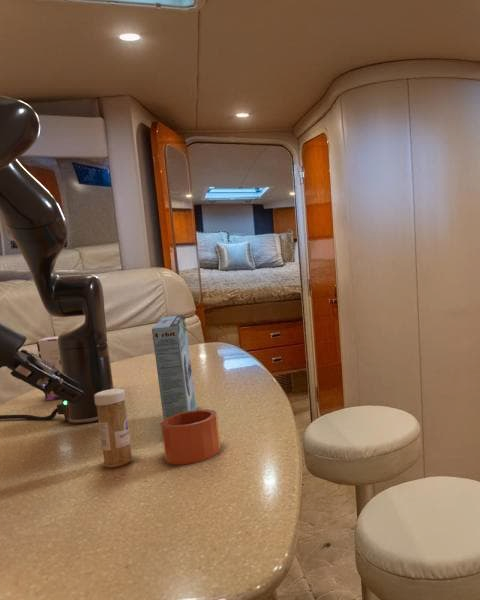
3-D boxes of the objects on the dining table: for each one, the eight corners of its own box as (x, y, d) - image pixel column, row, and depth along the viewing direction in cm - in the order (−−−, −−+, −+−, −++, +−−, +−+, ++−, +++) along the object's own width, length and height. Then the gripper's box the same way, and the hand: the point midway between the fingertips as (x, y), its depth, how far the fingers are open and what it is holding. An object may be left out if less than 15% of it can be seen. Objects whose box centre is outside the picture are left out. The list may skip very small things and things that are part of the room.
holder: (154, 464, 91) (149, 427, 90) (185, 443, 100) (181, 409, 99) (202, 464, 90) (197, 426, 89) (229, 443, 99) (226, 409, 98)
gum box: (191, 435, 105) (179, 325, 102) (163, 440, 103) (149, 328, 100) (197, 408, 122) (186, 314, 120) (173, 411, 120) (161, 316, 118)
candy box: (111, 388, 144) (104, 330, 142) (104, 393, 139) (96, 334, 137) (53, 394, 140) (45, 336, 138) (44, 401, 134) (35, 339, 132)
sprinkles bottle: (133, 463, 92) (124, 391, 90) (103, 470, 90) (93, 397, 88) (132, 455, 96) (124, 386, 94) (103, 462, 93) (94, 391, 92)
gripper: (-3, 325, 75) (100, 383, 84) (-1, 316, 86) (90, 369, 95) (-47, 367, 73) (64, 422, 81) (-39, 353, 83) (58, 403, 92)
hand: (78, 393), depth 88 cm, fingers open, 8 cm apart
